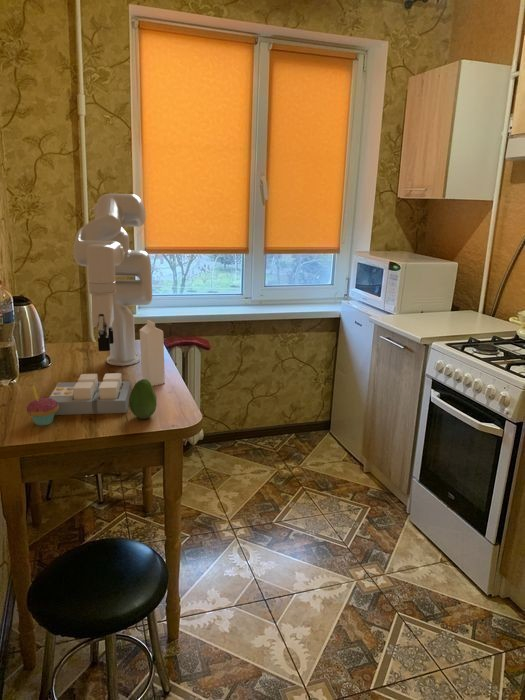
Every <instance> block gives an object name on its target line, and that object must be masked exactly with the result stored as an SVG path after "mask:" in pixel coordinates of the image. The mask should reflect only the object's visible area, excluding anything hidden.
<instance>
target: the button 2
mask: <svg viewBox="0 0 525 700" xmlns="http://www.w3.org/2000/svg"><path fill="white" fill-rule="evenodd" d="M75 382H76V381H75ZM73 393H74V400H92V399H93V398H94V384H93V382H78V381H77V382H76V384H75V386H74V388H73Z"/></svg>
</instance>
